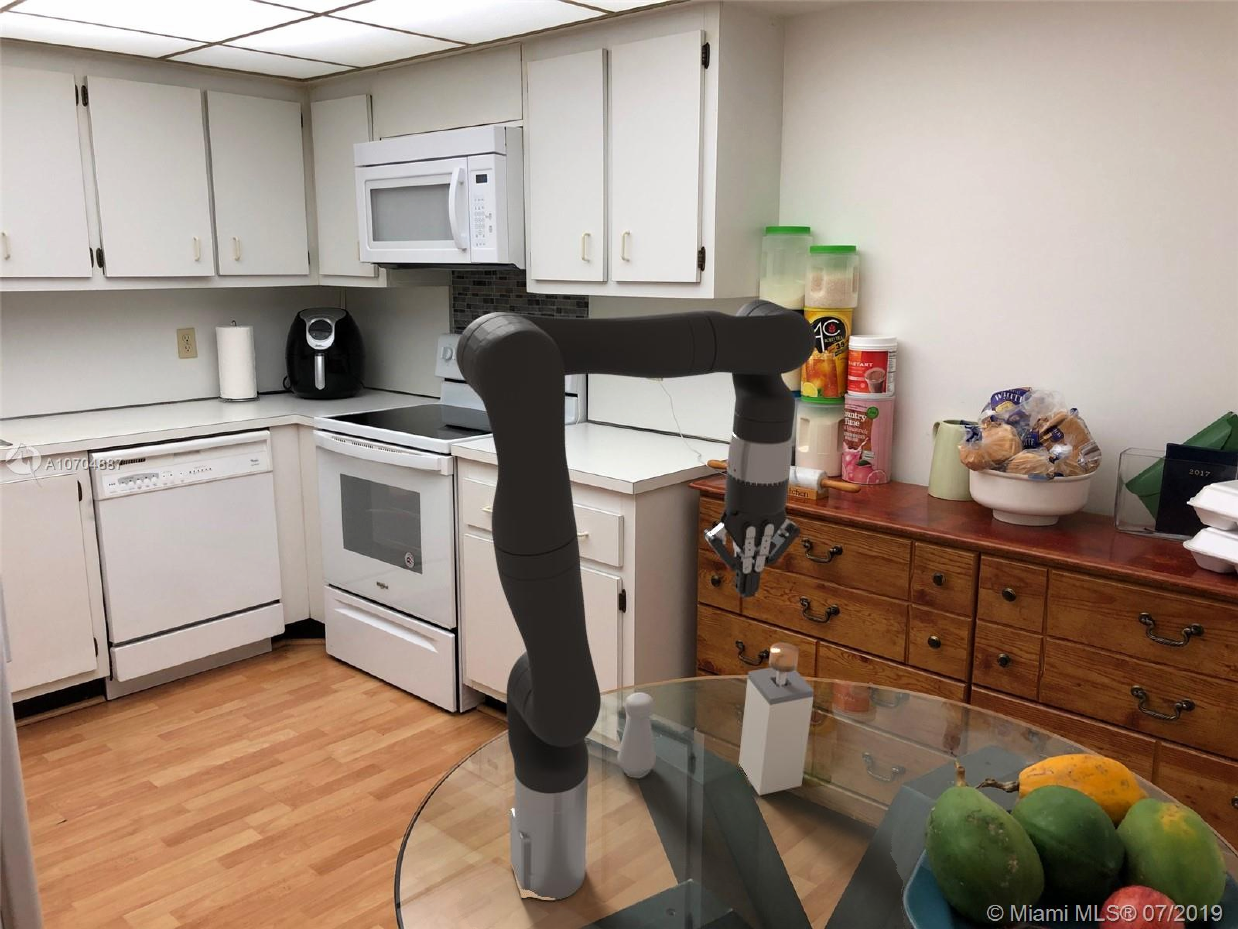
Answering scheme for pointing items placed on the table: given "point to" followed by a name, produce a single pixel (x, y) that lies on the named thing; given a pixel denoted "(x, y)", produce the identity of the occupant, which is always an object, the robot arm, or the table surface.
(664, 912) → the table surface
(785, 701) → the press canister
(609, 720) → the table surface
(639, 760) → the salt shaker
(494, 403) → the robot arm
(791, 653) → the plunger
